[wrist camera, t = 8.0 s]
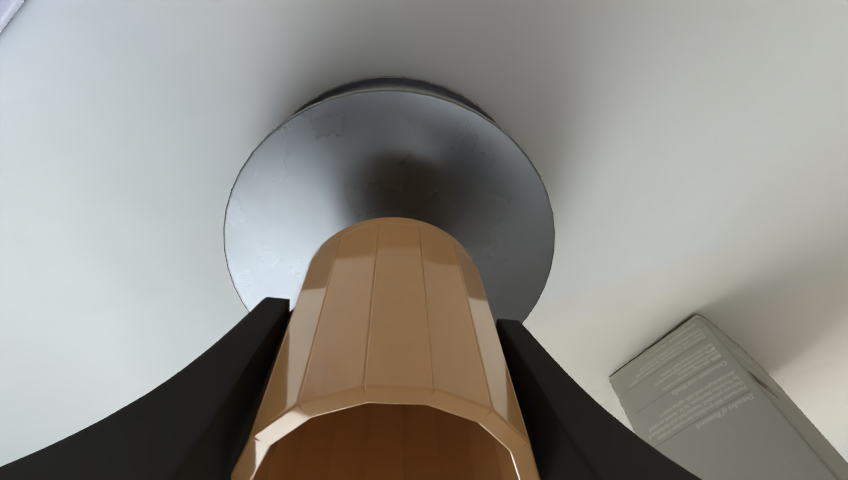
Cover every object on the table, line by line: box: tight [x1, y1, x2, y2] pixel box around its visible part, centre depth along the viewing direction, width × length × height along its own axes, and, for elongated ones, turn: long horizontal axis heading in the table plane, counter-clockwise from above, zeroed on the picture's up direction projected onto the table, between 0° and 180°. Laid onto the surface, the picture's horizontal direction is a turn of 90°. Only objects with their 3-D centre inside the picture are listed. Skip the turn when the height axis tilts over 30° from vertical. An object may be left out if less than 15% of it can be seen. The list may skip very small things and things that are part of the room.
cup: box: [231, 217, 540, 480], centre depth 11 cm, size 6×6×6 cm
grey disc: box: [223, 76, 555, 325], centre depth 19 cm, size 13×13×4 cm
